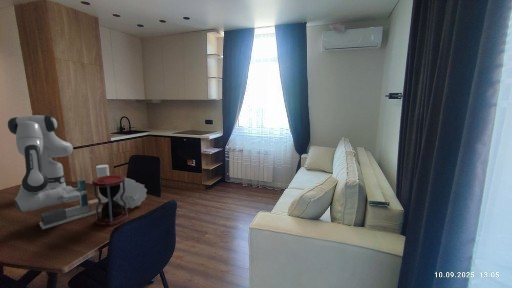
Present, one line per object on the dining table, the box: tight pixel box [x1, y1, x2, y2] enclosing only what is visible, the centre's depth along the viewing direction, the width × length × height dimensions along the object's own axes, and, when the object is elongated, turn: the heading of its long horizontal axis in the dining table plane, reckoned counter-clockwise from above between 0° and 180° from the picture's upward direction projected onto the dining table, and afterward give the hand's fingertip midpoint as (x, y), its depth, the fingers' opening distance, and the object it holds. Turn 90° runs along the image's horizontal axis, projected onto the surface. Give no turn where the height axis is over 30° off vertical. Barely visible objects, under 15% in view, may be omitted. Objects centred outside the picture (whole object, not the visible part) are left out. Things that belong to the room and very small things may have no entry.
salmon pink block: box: [87, 198, 103, 212], centre depth 149 cm, size 6×5×5 cm
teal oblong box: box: [64, 178, 91, 217], centre depth 141 cm, size 16×4×20 cm, turn 141°
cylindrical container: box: [95, 164, 110, 204], centre depth 163 cm, size 7×7×25 cm
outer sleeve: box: [40, 207, 67, 226], centre depth 134 cm, size 10×5×5 cm, turn 141°
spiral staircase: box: [113, 176, 148, 209], centre depth 159 cm, size 18×18×25 cm
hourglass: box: [91, 174, 129, 227], centre depth 138 cm, size 16×16×25 cm
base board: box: [39, 209, 101, 230], centre depth 142 cm, size 30×8×1 cm, turn 141°
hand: (85, 190), depth 144 cm, fingers open, 5 cm apart
